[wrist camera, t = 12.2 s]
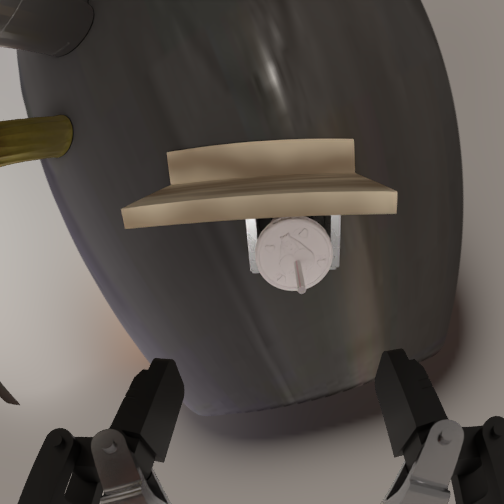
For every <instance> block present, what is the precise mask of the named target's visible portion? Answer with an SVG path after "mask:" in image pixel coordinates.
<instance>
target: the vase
mask: <svg viewBox="0 0 504 504" xmlns="http://www.w3.org/2000/svg"><path fill="white" fill-rule="evenodd" d="M72 137H73V129H72V125H71V122H70V120H69V119H68V118H67V117H66V116H64V115H57V116H53V117H34V118H26V119H15V120H8V121H0V167H2V166H6V165H10V164H14V163H19V162H24V161H31V160H38V159H45V158H51V157H55V158H58V157H61V156H63V155H64V154H65V153H66V152H67V150H68V149H69V147H70V145H71V142H72Z"/></svg>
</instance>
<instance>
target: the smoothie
mask: <svg viewBox="0 0 504 504" xmlns="http://www.w3.org/2000/svg"><path fill="white" fill-rule="evenodd" d="M332 259H333V249H332V244H331V241H330V238H329V236H328V234H327V232H326V231H325V229H324V228H323V227H322V226H321V225H320V224H319V223H318V222H316V221H314V220H312V219H310V218H308V217H306V216H298V217H277V218H273V219H272V221H271V223H269V224H268V225H267V226H266V227H265V228H264V229H263V231H262V232H261V233H260V235H259V237H258V239H257V242H256V247H255V260H256V265H257V268H258V270H259V272H260V274H261V275H262V277H263V278H264V279H265V280H266V281H267V282H268V283H270V284H271V285H273V286H275V287H277V288H279V289H283V290H288V291H298V292H299V293H300V294H303V293H305V292H306V289H307V288H310V287H312V286H314V285H315V284H317V283H318V282H319V281H321V280H322V279H323V278H324V276H325V275H326V274H327V272H328V271H329V269H330V266H331V263H332Z"/></svg>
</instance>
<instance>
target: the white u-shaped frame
mask: <svg viewBox="0 0 504 504" xmlns="http://www.w3.org/2000/svg"><path fill="white" fill-rule="evenodd" d="M340 224H341V215H325V231H326V232H327V234H328V236H329V238H330V241H331V244H332V249H333V259H332V263H331V266H330V269H329V270H331V269H336V267H339V257H340ZM246 230H247V240H248V251H249V262H250V271H252V273H260V272H259V270H258V268H257V265H256V260H255V247H256V242H257V239H258V237H259V235H260V234H259V221H258V219H246Z"/></svg>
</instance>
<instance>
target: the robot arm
mask: <svg viewBox="0 0 504 504" xmlns="http://www.w3.org/2000/svg"><path fill="white" fill-rule="evenodd" d="M93 15H94V13H93V9H92V7H91V6H90V5H89V4H88V0H0V47H6V48H13V49H19V50H25V51H31V52H36V53H41V54H46V55H51V56H56V57H59V56H63V55H65V54H67V53H69V52H70V51H72V50H73V49H74V48H75V47H76V46H77V45H78V44H79V43H80V42H81V41H82V40H83V38H84V37H85V36H86V34H87V32H88V31H89V28H90V26H91V24H92V21H93ZM375 390H376V393H377V397H378V400H379V403H380V406H381V410H382V414H383V417H384V421H385V424H386V428H387V431H388V435H389V438H390V442H391V446H392V450H393V454H394V457H398V456H402V455H404V458H405V462H404V463H403V465H402V467H401V469H400V471H399V473H398V475H397V477H396V479H395V480H394V482H393V484H392V486H391V488H390V490H389V491H388V493H387V494H386V496H385V498H384V499H383V501H382V502H381V504H448V501H449V498H450V491H448V485H449V482H450V480H452V485H453V490H454V495H455V501H456V504H504V418H502V417H499V416H494V417H491V418H489V419H488V420H487V421H486V422H485V423H484V425H483V426H475V427H461V426H460V425H459V424H458V423H457V422H455V421H453V420H449V419H448V418H447V416H446V414H445V411H444V409H443V407H442V405H441V402H440V400H439V398H438V396H437V394H436V392H435V390H434V388H433V387H432V383H431V381H430V379H428V375H427V373H426V371H425V369H424V367H423V366H422V365H421V364H419V363H418V362H417V361H416V360H415V359H413V360H409V359H408V357H407V355H406V353H405V351H404V350H403V349H396V350H390V351H384V352H383V354H382V357H381V360H380V364H379V367H378V370H377V374H376V377H375ZM125 396H126V397H125V398H124V399H123V401H122V404H121V406H120V408H119V410H118V412H117V414H116V416H115V418H114V420H113V422H112V425H111V426H110V428H109V429H106V430H102V431H100V432H98V433H97V434H96V435H95V436H94V437H74V436H73V435H72V434H71V433H70V432H69V431H68V430H66V429H63V428H58V429H54V430H52V431H51V432H50V433H49V434H48V435H47V437H46V439H45V441H44V443H43V445H42V447H41V449H40V451H39V454H38V456H37V458H36V460H35V462H34V465H33V467H32V469H31V471H30V474H29V476H28V479H27V481H26V483H25V486H24V489H23V491H22V494H21V496H20V499H19V502H18V504H99V503H100V502H101V504H171V502H170V501H169V499H168V497H167V496H166V493H165V491H164V490H163V488H162V486H161V484H160V482H159V480H158V478H157V476H156V474H155V472H154V470H153V468H152V466H153V463H154V461H158V462H164V461H165V457H166V454H167V450H168V447H169V444H170V441H171V437H172V434H173V431H174V427H175V424H176V421H177V417H178V414H179V411H180V408H181V405H182V401H183V398H184V384H183V381H182V379H181V376H180V374H179V371H178V368H177V366H176V363H175V361H174V360H173V359H160V358H155V359H153V361H152V363H151V365H150V367H149V369H148V370H142V371H141V372H140V373H139V374H138V375H137V376H136V377H134V379H133V381H132V383H131V385H130V388H129V390H128V392H127V393H126V395H125ZM71 474H72V476H71ZM70 476H71V479H70ZM69 479H70V482H69ZM68 482H69V485H68ZM67 485H68V487H67ZM66 487H67V490H66ZM65 490H66V493H65ZM103 490H104V495H103V496H102V493H103Z"/></svg>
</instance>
